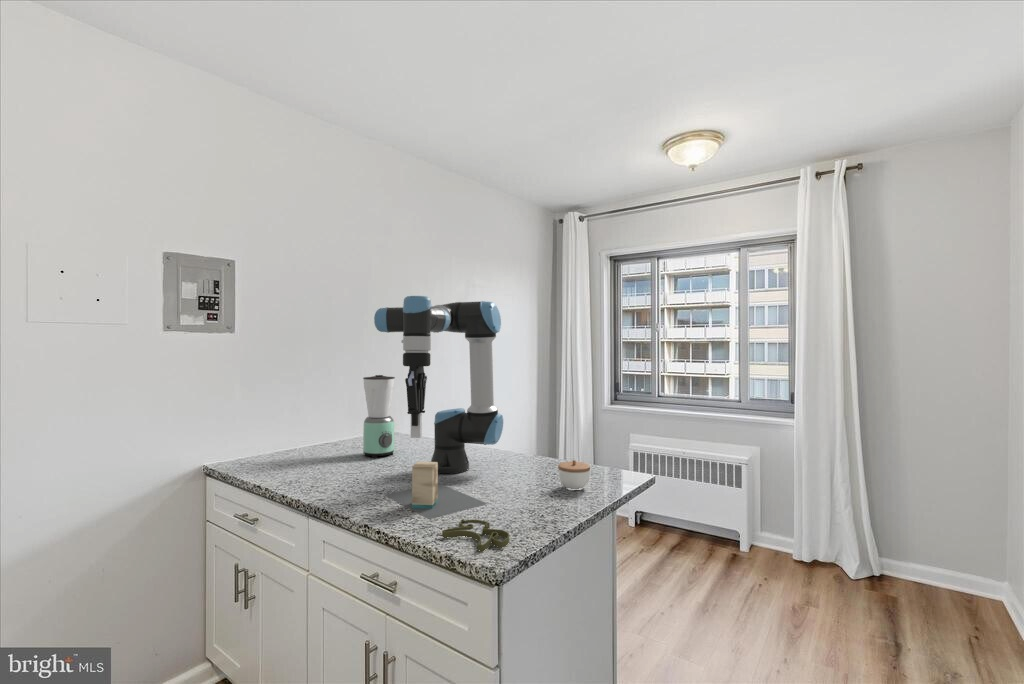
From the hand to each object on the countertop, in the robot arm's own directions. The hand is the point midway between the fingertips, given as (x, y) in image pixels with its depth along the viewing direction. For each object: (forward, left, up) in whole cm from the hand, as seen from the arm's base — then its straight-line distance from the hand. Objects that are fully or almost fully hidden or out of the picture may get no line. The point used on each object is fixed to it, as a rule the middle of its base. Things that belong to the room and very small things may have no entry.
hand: (416, 437), depth 133 cm
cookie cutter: (-6, +21, -23) cm, 32 cm away
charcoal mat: (-12, -10, -23) cm, 27 cm away
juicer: (-26, -82, -23) cm, 88 cm away
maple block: (-7, -7, -22) cm, 24 cm away
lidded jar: (-56, +7, -23) cm, 61 cm away
